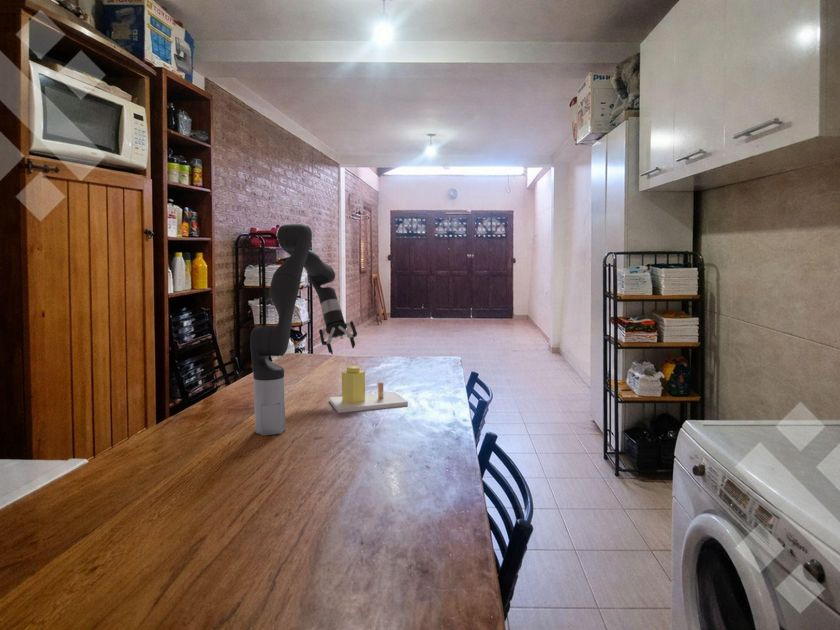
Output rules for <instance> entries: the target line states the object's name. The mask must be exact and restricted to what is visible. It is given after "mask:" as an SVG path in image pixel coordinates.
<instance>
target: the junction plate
mask: <svg viewBox="0 0 840 630" xmlns="http://www.w3.org/2000/svg"><path fill="white" fill-rule="evenodd" d="M328 400H329V403H330V405H332V407H333V408H334V409H335V411H336V412H337V414H340V413H350V412H359V411H368V410H377V409H379V410H380V409H388V408H397V407H398V408H399V407H407V406H409V405H408V404H409V403H408V400H406V399H405V398H403V396H401V395H400V394H398V393H397V392H396V391H388V392H387V391H384V382H382V381H379V382H377V392H375V393H365V401H362V402H359V403H355V404H351V403H347V402H343V401H342V395H341V396H331V397H329V399H328Z"/></svg>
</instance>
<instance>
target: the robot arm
mask: <svg viewBox="0 0 840 630" xmlns="http://www.w3.org/2000/svg"><path fill="white" fill-rule="evenodd" d="M276 238H277V243H278V245H279V246H280V248H281V249H282V250H283V251H284V252H286V253H287V254H288V255H289V256H288V258H287V259H286V260H285V261H283V263H282V264H281V265H280V266H278V268H277V269H276V270H275V271H274V272H273V276H272V277H271V282H270V285H269V290H268V291H269V293H268V294H269V297H270V301H272V304H273V306H274V309H275V310H276V313H277V315H278V321H277V325H275V326H272V325H271V326H270V325H269V326H268V325H267V326H265V325H261V326H260V325H259V326H255V327H253V328H252V330H251V333H250V337H249V341H250V342H249V345H250V347H249V348H250V356H251V368H252V373H253V374H252V375H253V397H254V398H253V401H254V431H255V432H254V433H256V434H257V435H260V436H262V437H263V436H270V435H271V436H272V435H281V434H283V432H285V431H286V429H287V428H286V401H285V400H286V397H285V369H284V367H283V366H282V365H279V364H276V363H274V362H273V361H271V360H270V359H269V358H268V357H281V356H284V355H285V354H286V353H287V351H288V349H289V348H288V347H289V344H290V337H291V329H292V323H293V321H292V320H293V317H294V311H295V306H296V303H297V298H298V295H299V291H300V285H301V281H302V276H303V275H302V274H303V271H304V270H305V271H306V272H307V274H308V275H307V277H308V280H309V283H310V284H311V285H312V287H313V289H314V290H315V292H316V293H317V297H318V299H319V305H320V309H321V313H322V317H323V321H324V324H325V328H324V329H319V330H318V332H319V337H320V342H321V345H322V346H326V347H327V349H328V353H329V354H331V355H333V354H334V352H333V348H332V345H331V343H332V341H333V339H334V338H335V339H337V338H339V337H343V336H345V337H347V338H348V339H349V341H350V345H351V348H352V349H354V348H355V347H356V342H355V337H358V332H357V329H356V327H355V324H354V322H353V321H352V320H351V321H350V322H348V323H346V322H345V318H344V316H343V312H342V311H343V310H342V309H341V305H340V303H339V300H338V296H337V293H336V290H335V288H334V287H333V286H332V287H331V286H327V287H323V285H327V284H329V283H332V282H333V281H335V278H336V273H335V270H334V268H333V267H332V266H331V265H329V264H328V263H326V262H324V261H323V260H322V259H321V258H320V256H319V255H318V254H317V253H316V252H314V251H313V250H311V245H312V242H313V241H312V240H313V232H312V229H311V227H310V226H309V224H306V223H296V224H295V223H293V224H289V223H288V224H283V225H281V226H279V227H278V229H277V235H276ZM347 328H349V329H351V332H352V333H350V332H349V330H347ZM326 334H328V338H327V340H326V341H325V338H324V336H325V335H326Z"/></svg>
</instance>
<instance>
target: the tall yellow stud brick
mask: <svg viewBox="0 0 840 630" xmlns="http://www.w3.org/2000/svg"><path fill="white" fill-rule="evenodd" d="M365 394H366V371H363V370H361V367H360V366H358V365H357V366H354V365H353V366H352V365H351V366H347V367H346V370H345V371H342V372H341V396H342V401H343V402H347V403H351V404H355V403H359V402H362V401H365Z"/></svg>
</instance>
